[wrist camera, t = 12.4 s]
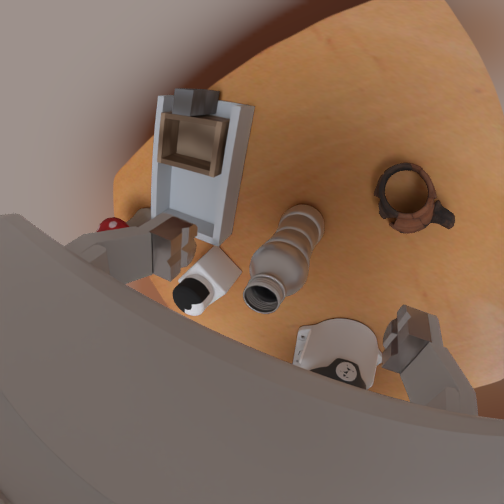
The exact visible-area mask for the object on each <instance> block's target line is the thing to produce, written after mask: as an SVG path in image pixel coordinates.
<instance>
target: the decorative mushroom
mask: <svg viewBox="0 0 504 504" xmlns="http://www.w3.org/2000/svg"><path fill="white" fill-rule="evenodd" d="M149 220H151V208H143V209H140V210H138V211H137V212H136V214H135V215H134V216H133V217H132V218H131V219H130V220H129V221H127V222H124V221H123V220H121V219H119V218H115V217H113V218H107V219H105V220H104V221H103V222H102V223H101V224H100V225H99V227H98V229H97V232H101V231H107V230H114V229H120V228H127V227H134V226H136V227H140V226H141V225H143V224H144V223H146V222H148V221H149Z"/></svg>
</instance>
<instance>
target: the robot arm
mask: <svg viewBox="0 0 504 504" xmlns="http://www.w3.org/2000/svg"><path fill="white" fill-rule="evenodd" d="M197 231H198V227H197V226H196V224H193V223H191V222H188V221H186V220H183V219H181V218H178V217H176V216H173V215H171V214H168V213H161V214H159V215H158V216H156V217H154V218H153V219H151V220H149V221H148V222H146V223H144V224H143V225H141V226H140V227H136V226H134V227H127V228H120V229H114V230H107V231H101V232H95V233H89V234H83V235H82V236H80V237H78V238H77V239H75V240H73V241H72V242H71V243H69V244H67V245H66V246H63V245H61V244H60V243H59V242H57V241H56V240H54V239H53V238H51V237H50V236H48V235H47V234H46V233H44V232H43V231H42V230H40V229H39V228H37V227H36V226H35V225H33V224H32V223H31V222H29V221H28V220H26V219H25V218H24V217H23V216H21V215H19V214H5V215H0V504H504V420H501V419H494V418H486V417H479V416H478V410H477V401H476V393H475V391H474V390H473V388H472V386H471V385H470V383H469V381H468V380H467V378H466V377H465V375H464V374H463V372H462V371H461V369H460V367H459V366H458V364H457V363H456V361H455V360H454V359H453V357H452V356H451V354H450V353H449V351H448V350H447V348H445V347H443V342H442V336H441V331H440V325H439V320H438V318H437V316H435V315H432V314H429V313H426V312H423V311H420V310H417V309H415V308H412V307H409V306H406V305H402V306H401V307H400V309H399V310H398V312H397V318H396V319H394V320H392V321H391V322H390V324H389V325H388V327H387V329H386V331H385V333H384V337H383V346H384V347H385V351H384V352H383V353H381V352H380V350H379V349H378V344H377V339H376V336H375V335H374V333H373V332H372V331H371V330H370V329H369V328H368V327H367V326H365V325H363V324H362V323H359V322H357V321H354V320H349V319H330V320H326V321H323V322H321V323H319V324H316V325H310V326H302V327H300V328H299V331H298V336H297V342H296V348H295V353H294V359H293V364H291V363H288V362H285V361H283V360H280V359H278V358H275V357H273V356H270V355H268V354H266V353H263V352H261V351H258V350H256V349H254V348H251V347H249V346H247V345H244V344H242V343H240V342H238V341H235V340H233V339H231V338H229V337H226V336H224V335H222V334H220V333H218V332H216V331H213V330H211V329H209V328H207V327H205V326H203V325H201V324H199V323H197V322H195V321H193V320H191V319H189V318H187V317H185V316H183V315H181V314H179V313H177V312H175V311H173V310H171V309H169V308H167V307H165V306H163V305H162V304H160V303H158V302H156V301H154V300H152V299H150V298H149V297H147V296H145V295H143V294H141V293H140V292H138V291H136V290H134V289H132V288H131V287H129V286H127V285H125V284H126V283H129V282H132V281H135V280H138V279H141V278H144V277H147V276H150V275H152V274H155V275H157V276H159V277H161V278H164V279H166V280H168V281H170V282H171V281H172V280H173V279H174V278H175V277H176V276H177V275H178V274H179V273H180V268H182V267H186V266H188V265H189V264H190V263H191V261H192V259H193V258H194V255H195V252H196V243H195V241H194V238H195V237H196V236H197ZM381 362H382V366H381V367H382V368H385V369H388V370H391V371H394V372H396V373H399V374H400V376H401V379H402V381H403V384H404V386H405V389H406V392H407V394H408V397H409V399H410V402H408V401H404V400H400V399H396V398H393V397H389V396H385V395H382V394H378V393H375V392H372V391H368V389H369V388H370V387H372V385H373V382H374V377H375V372H376V366H377V365H379V364H380V363H381Z"/></svg>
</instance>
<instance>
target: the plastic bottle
mask: <svg viewBox="0 0 504 504" xmlns="http://www.w3.org/2000/svg"><path fill="white" fill-rule="evenodd" d="M323 234H324V220H323V217H322V215H321V214H320V213H319V211H318V210H316V209H315V208H313V207H312V206H309V205H296V206H293V207H291V208H290V209H288V210H287V211H286V212H285V213H284V214H283V215H282V217H281V220H280V222H279V226H278V229H277V231H276V233H275V234H274V235H273V236H272V237H271V238H270V239H269V240H268V241H267V242H266V243H264V244H263V245H262V246H261V247H260V248H259V249H258V250H257V251H256V252H255V253H254V254H253V256H252V258H251V262H250V276H251V279H250V280H249V282H248V285H247V286H246V288H245V289H244V292H243V298H244V301H245V303H246V304H247V305H248V306H249V307H250V308H251V309H252V310H254V311H256V312H258V313H262V314H269V313H273V312H275V311H276V310H277V309H278V307H279V306H280V304H281V303H282V301H283V300H284V298H285V297H286V296H290V295H293V294H295V293H296V292H297V291H298V290H300V289H301V288H302V287H303V285H304V284H305V282H306V280H307V277H308V272H309V263H310V258H311V254H312V251H313V249H314V247H315V246H316V245H317V244H318V242H319V241H320V240H321V238H322V237H323Z"/></svg>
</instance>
